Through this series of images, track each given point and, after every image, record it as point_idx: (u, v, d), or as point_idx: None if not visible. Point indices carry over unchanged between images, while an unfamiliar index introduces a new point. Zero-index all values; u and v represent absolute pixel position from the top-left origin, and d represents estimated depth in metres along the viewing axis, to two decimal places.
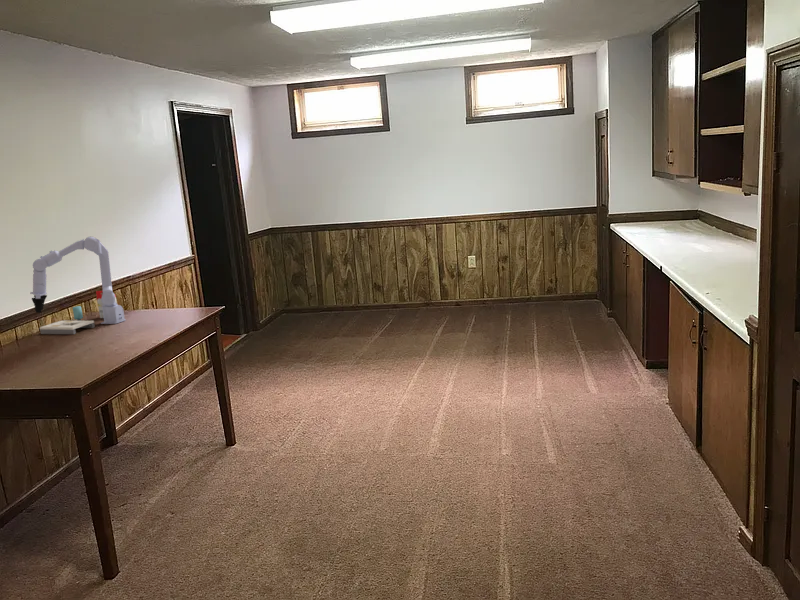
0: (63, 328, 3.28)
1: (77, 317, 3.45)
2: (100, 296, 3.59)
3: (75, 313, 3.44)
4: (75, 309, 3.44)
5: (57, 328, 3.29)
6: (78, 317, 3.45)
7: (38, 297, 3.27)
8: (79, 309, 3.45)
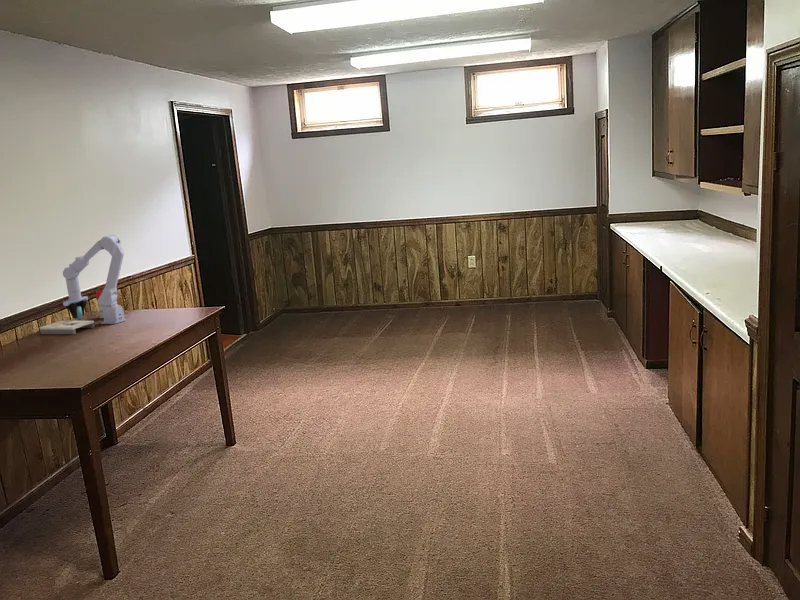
0: (63, 328, 3.28)
1: (77, 317, 3.45)
2: None
3: None
4: None
5: (57, 328, 3.29)
6: (78, 317, 3.45)
7: (65, 304, 3.38)
8: (79, 309, 3.45)
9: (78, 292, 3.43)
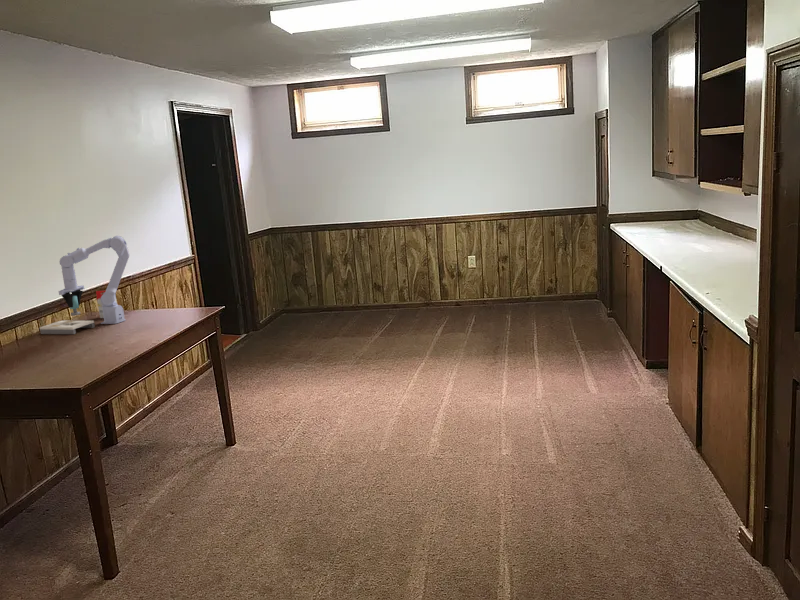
0: (63, 328, 3.28)
1: (73, 306, 3.40)
2: (100, 296, 3.59)
3: None
4: None
5: (57, 328, 3.29)
6: (74, 307, 3.40)
7: (60, 293, 3.33)
8: (75, 298, 3.40)
9: (74, 281, 3.38)
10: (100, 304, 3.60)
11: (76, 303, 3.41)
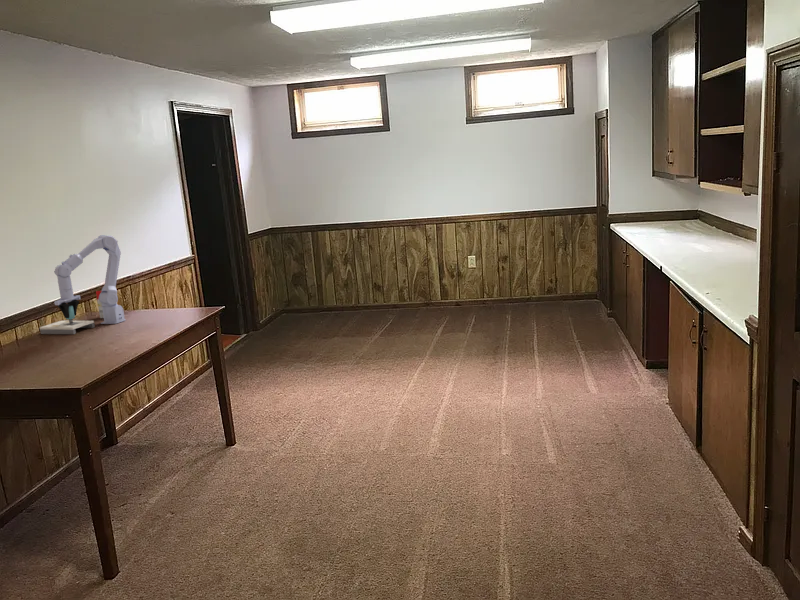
0: (63, 328, 3.28)
1: None
2: None
3: None
4: None
5: (57, 328, 3.29)
6: (70, 317, 3.32)
7: (56, 304, 3.26)
8: (70, 309, 3.32)
9: (70, 291, 3.30)
10: (100, 304, 3.60)
11: (72, 313, 3.33)
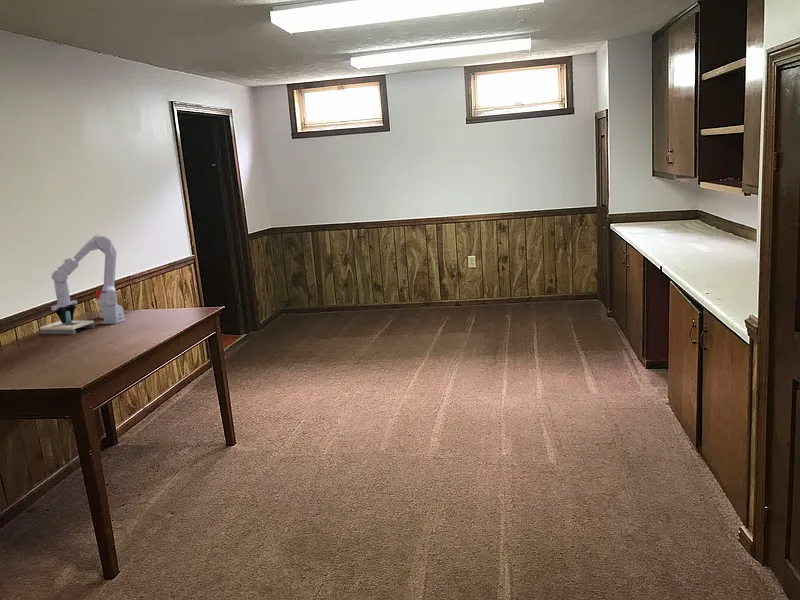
0: (63, 328, 3.28)
1: None
2: None
3: None
4: None
5: (57, 328, 3.29)
6: (67, 322, 3.33)
7: (53, 309, 3.27)
8: (67, 314, 3.33)
9: (67, 296, 3.32)
10: (100, 304, 3.60)
11: (69, 318, 3.34)
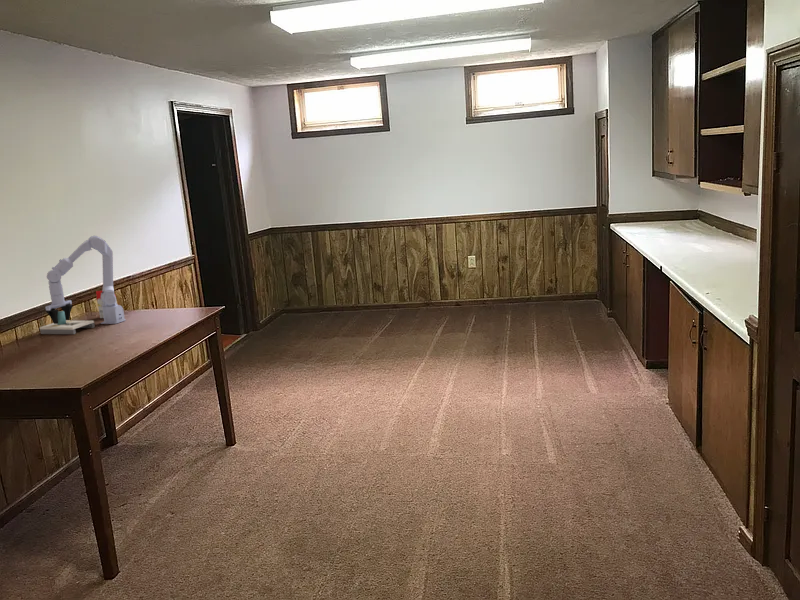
0: (63, 328, 3.28)
1: (60, 322, 3.34)
2: (100, 296, 3.59)
3: (58, 318, 3.34)
4: (58, 314, 3.34)
5: (57, 328, 3.29)
6: (61, 323, 3.35)
7: (47, 309, 3.28)
8: (62, 314, 3.34)
9: (61, 296, 3.33)
10: (100, 304, 3.60)
11: (63, 319, 3.35)
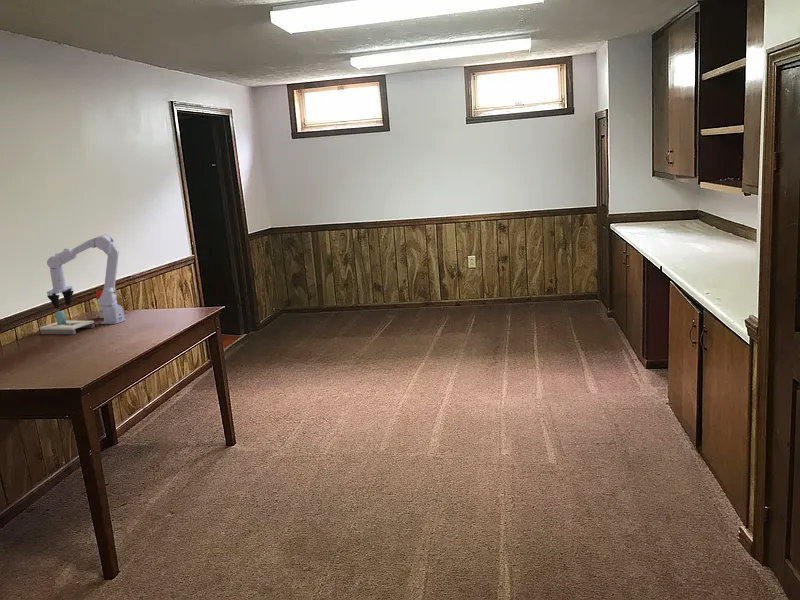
0: (63, 328, 3.28)
1: (60, 322, 3.34)
2: None
3: (58, 318, 3.34)
4: (58, 314, 3.34)
5: (57, 328, 3.29)
6: (61, 323, 3.35)
7: (49, 294, 3.34)
8: (62, 314, 3.34)
9: (62, 282, 3.39)
10: (100, 304, 3.60)
11: (63, 319, 3.35)
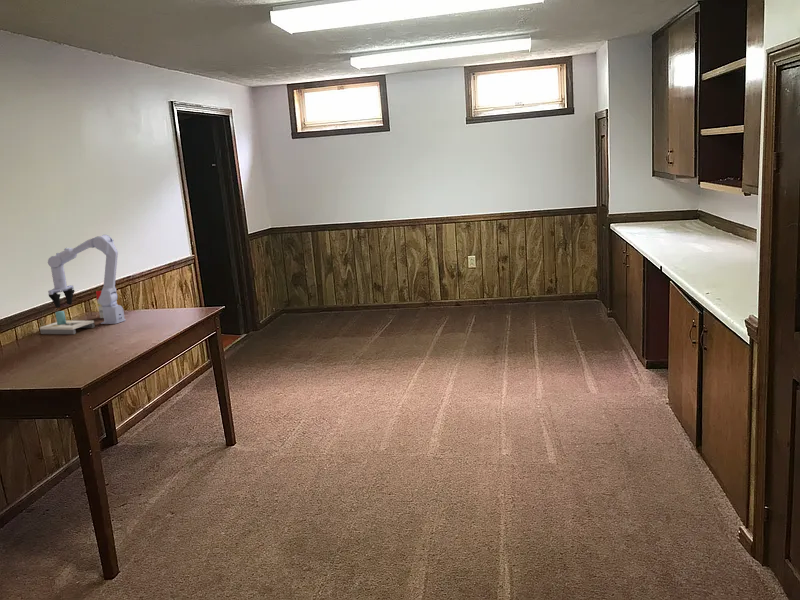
0: (63, 328, 3.28)
1: (60, 322, 3.34)
2: None
3: (58, 318, 3.34)
4: (58, 314, 3.34)
5: (57, 328, 3.29)
6: (61, 323, 3.35)
7: (50, 293, 3.37)
8: (62, 314, 3.34)
9: (63, 281, 3.42)
10: (100, 304, 3.60)
11: (63, 319, 3.35)
